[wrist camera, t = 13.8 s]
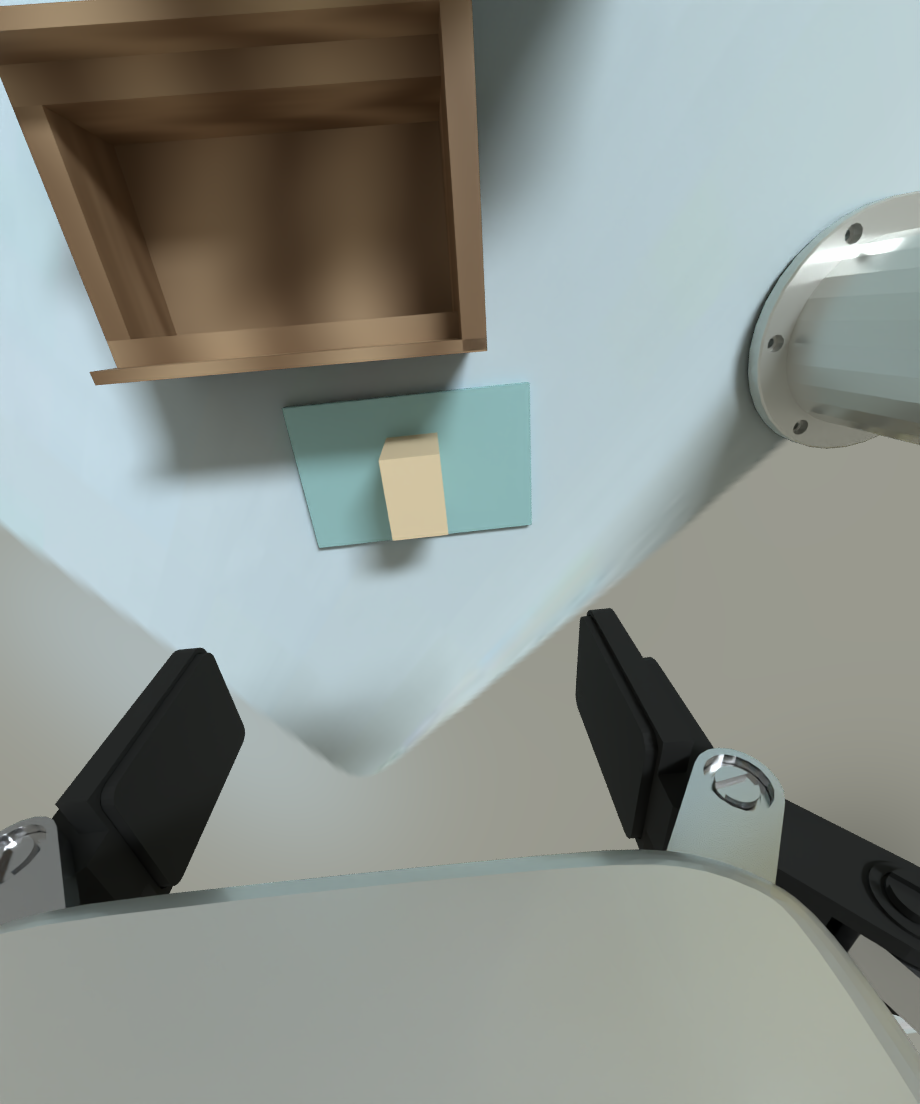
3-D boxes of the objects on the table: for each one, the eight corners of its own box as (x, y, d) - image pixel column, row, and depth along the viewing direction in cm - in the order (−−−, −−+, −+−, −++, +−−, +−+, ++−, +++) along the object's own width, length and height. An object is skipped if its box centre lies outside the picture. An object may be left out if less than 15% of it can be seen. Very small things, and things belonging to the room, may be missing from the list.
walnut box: (457, 81, 20) (470, -26, 14) (472, 343, 24) (487, 351, 18) (88, 108, 19) (-67, 10, 13) (178, 369, 24) (95, 385, 18)
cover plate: (526, 381, 26) (550, 395, 21) (528, 518, 30) (549, 559, 25) (286, 405, 26) (252, 426, 21) (322, 541, 30) (300, 586, 25)
